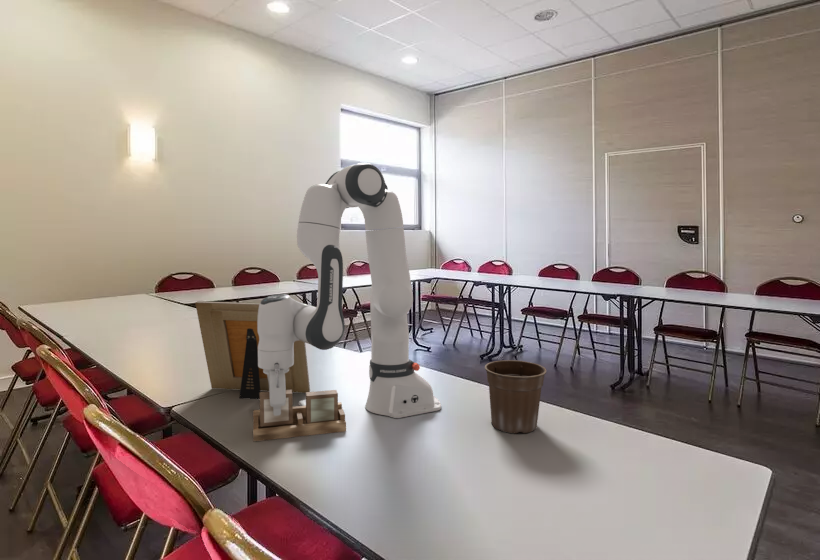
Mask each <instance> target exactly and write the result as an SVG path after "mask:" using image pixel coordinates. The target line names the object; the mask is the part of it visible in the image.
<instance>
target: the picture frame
mask: <svg viewBox="0 0 820 560" xmlns="http://www.w3.org/2000/svg"><path fill="white" fill-rule="evenodd" d="M194 304H195V308H196V314H197V319H198V324H199V329H200V334H201V339H202V344H203V350H204V351H203V352H204V355H205V360H206V365H207V371H208V376H209V380H210V381H209V382H210V386H211V389H221V390H236V391H237V390H239V396H238V397H239V399H243V398H250V399H249V400H260V392H269V384H268V377H267V374H265V373H263V369H261V368H259V367H258V344H259V335H258V332H257V319H258V308H259V304H260V302H241V301H239V302H238V301H237V302H234V301H232V302H231V301H205V300H204V301H202V300H201V301H200V300H199V301H195V303H194ZM285 385H286V390H292V393H295V394H296V393H298V394H299V393H300V394H301V393H302V394H306V392H311V386H310V377H309V368H308V357H307V349H306V343H305V342H302V341H300V340H299V341H295V342H294V365H293V366H291V367H289V371H288V372H287V373H285Z"/></svg>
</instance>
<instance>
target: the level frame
mask: <svg viewBox="0 0 820 560" xmlns="http://www.w3.org/2000/svg"><path fill="white" fill-rule="evenodd" d="M338 397H339V393H338V391H337V389H331V390H330V389H329V390H317V391H310V392H306V393H305V400H306V424H310V423H320V422H329V421H338V403H339V398H338Z"/></svg>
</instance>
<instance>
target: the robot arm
mask: <svg viewBox="0 0 820 560" xmlns="http://www.w3.org/2000/svg"><path fill="white" fill-rule="evenodd" d="M350 208H359V209H360V211H361V213H362V216H363V218H364V231H365V240H366V251H367V260H368V267H369V273H370V279H371V287H370V290H369V296H370V297H369V302H370V304H369V305H370V307H369V308H370V310H369V312H370V330H371V331H370V332H371V338H370V340H371V344H370V345H371V346H370V347H371V348H370V351H371V355H370V358H371V359H370V360H369V367H368V370H369V371H368V375H369V376H368V377H369V380H370V381H369V387H368V389H369V390H368V395H367V399H366V403H365V407H364V408H365V410H366V411H369V412H370V413H373V414H376V415H382V416H387V417H391V418H393V419H394V418H395V419H400V418H406V417H410V416H417V415H421V414H426V413H427V414H428V413H431V412H437V411H438V412H439V411H440V410H441V409H442V404H441V401H440V399H438V397H436V396H434V390H433V388H432V386H431V384H430V383H429V382H428V381H427V380H426V379H424V377H422V376H421V375H420V374H418V373H417V372H418V371H420V369H421V366H420V364H418V363H417V362H415V361H413V360H411V359H409V358H410V357H409V355H410V354H409V352H410V350H409V349H410V347H409V346H410V332H409V323H408V322H409V321H408V312H409V311H410V310H411V308H412V306H413V302H414V294H413V287H412V281H411V274H410V267H409V264H408V259H407V257H408V256H407V250H406V240H405V228H404V220H403V214H402V209H401V205H400V201H399V198H398V196H397V194H396V193H395V192H393V191H391V190H389V189H388V186H387V183H386V180H385V178H384V176H383V173H382V172H381V171H380V169H379V167H377V166H376V165H374V164H371V163H369V162H368V163H367V162H359V163H355V164H351V165H348V166H346V167H344V168H342V169H340V170H339V171H336V172H334V173H333V174H332V175H330V177H329V178H328V179H327V180H326V182H325V183H318V184H315V185H313V184H312V185H311V186H310V187H309V188H307V190H306V191H305V194H304V197H303V201H302V204H301V208H300V211H299V217H298V223H297V228H296V229H297V230H296V243H297V244H296V245H297V247H298V250H299V251H300V252H301V253H302V255H303V256H304V257H306V259H308V260H309V261H310V262H311V263H312V264H313V266H314V267H315V269H316V272H317V276H318V277H317V278H318V279H317V280H318V281H317V304H316V306H313V305H310V304H306V303H303V302H300V301H298V300H296V299H294V298H292V297H291V296H290V295H289V294H286V293H285V294H284V293H280V294H272V295H269V296H266V297H264V298H263V299H262V300H261V301H260V302H259V303H260V304H259V308H258V319H257V332H258V335H259V344H258V367H259V368H261V369H263V373H265V374H267V377H268V384H269V391H268V392H269V398H270V406H271V407H273V414H274V415H275V416H277V415H280V414H281V406H284V405H285V403H286V385H285V373H287V372H288V371H289V367H291V366H293V365H294V342H295V341H299V340H300V341H302V342H305V344H309V345H311V346H312V347H315V348H316V349H319V350H322V351H327V350H329V349H330V350H331V349H333V348H334V347H335V346H337V345H338V344H339V343H340V341H341V340H342V338H343V336H344V334H345V329H346V328H345V326H346V325H345V324H346V323H345V318H344V312H343V287H344V286H343V282H344V260H343V255H342V252H341V248H340V232H341V225H342V217H343V213H344V212H345V210H346V209H350Z"/></svg>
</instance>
